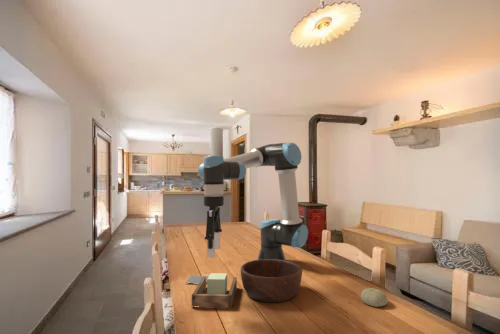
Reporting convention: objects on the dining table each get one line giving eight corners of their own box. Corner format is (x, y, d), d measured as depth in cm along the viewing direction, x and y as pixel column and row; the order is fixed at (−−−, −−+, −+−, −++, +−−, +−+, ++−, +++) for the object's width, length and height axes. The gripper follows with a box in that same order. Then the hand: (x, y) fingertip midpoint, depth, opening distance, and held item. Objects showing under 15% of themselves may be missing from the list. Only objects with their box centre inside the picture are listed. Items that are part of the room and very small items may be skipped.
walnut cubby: (236, 287, 123) (236, 277, 123) (231, 308, 103) (231, 295, 103) (203, 287, 123) (203, 276, 123) (191, 307, 104) (191, 295, 104)
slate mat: (209, 277, 136) (209, 276, 136) (205, 284, 127) (205, 283, 127) (190, 277, 136) (190, 275, 136) (185, 284, 127) (185, 283, 127)
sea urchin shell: (376, 306, 101) (363, 284, 106) (364, 315, 106) (353, 294, 111) (395, 301, 104) (382, 280, 110) (383, 310, 109) (370, 290, 115)
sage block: (227, 290, 120) (227, 273, 120) (224, 297, 113) (224, 279, 113) (210, 290, 121) (210, 273, 121) (207, 297, 114) (207, 279, 114)
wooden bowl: (242, 281, 130) (242, 258, 131) (297, 281, 130) (297, 258, 130) (238, 306, 105) (238, 277, 106) (307, 306, 105) (306, 278, 105)
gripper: (210, 193, 123) (210, 245, 122) (196, 197, 99) (196, 261, 98) (227, 193, 122) (227, 245, 122) (218, 197, 99) (218, 262, 98)
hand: (213, 252), depth 110 cm, fingers open, 11 cm apart
